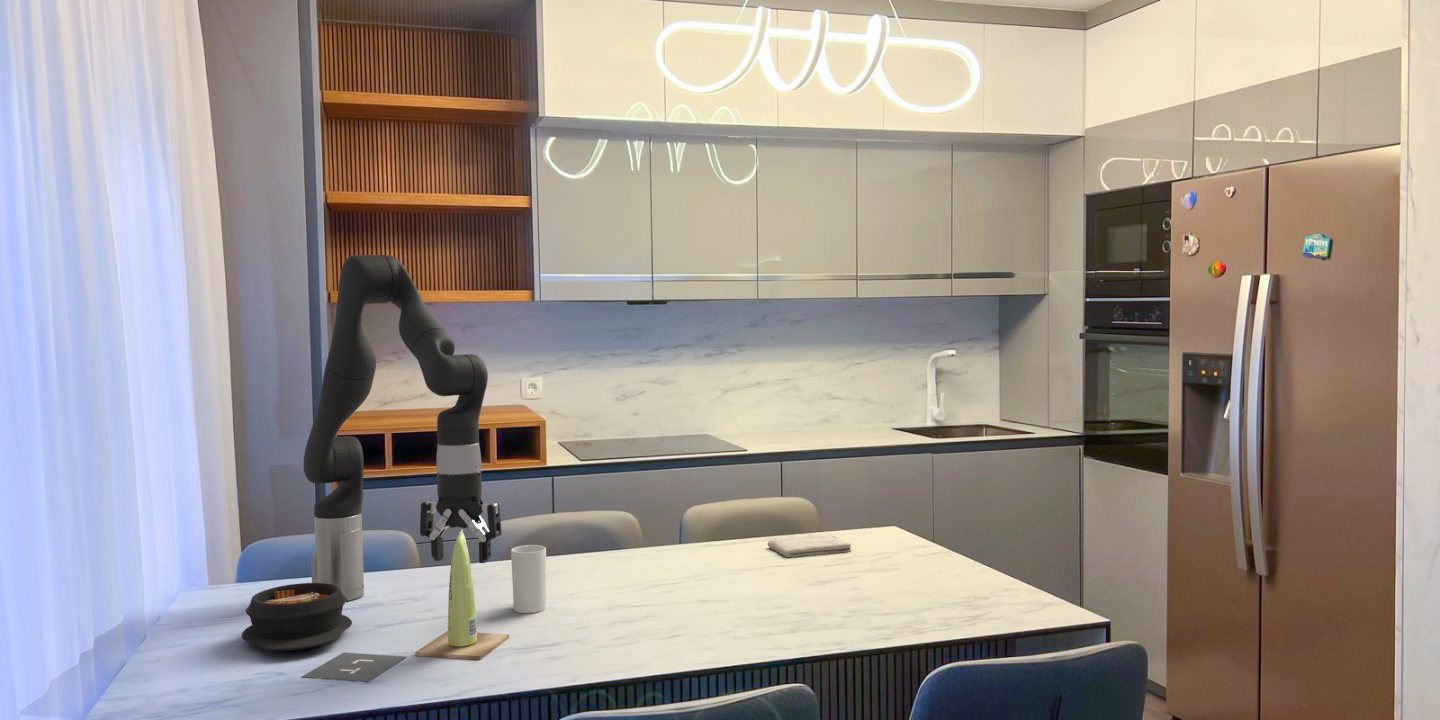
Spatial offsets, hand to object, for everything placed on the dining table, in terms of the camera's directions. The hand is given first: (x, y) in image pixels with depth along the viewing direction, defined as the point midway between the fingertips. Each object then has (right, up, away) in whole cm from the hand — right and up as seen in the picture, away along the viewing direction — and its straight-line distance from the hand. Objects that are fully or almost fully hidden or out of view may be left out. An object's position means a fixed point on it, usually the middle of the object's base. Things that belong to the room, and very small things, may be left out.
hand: (461, 561), depth 181 cm
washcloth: (+67, -12, +70) cm, 98 cm away
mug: (+7, -14, +25) cm, 29 cm away
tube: (0, -15, +1) cm, 15 cm away
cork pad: (0, -15, +1) cm, 15 cm away
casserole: (-31, -16, +7) cm, 36 cm away
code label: (-15, -16, -9) cm, 24 cm away
